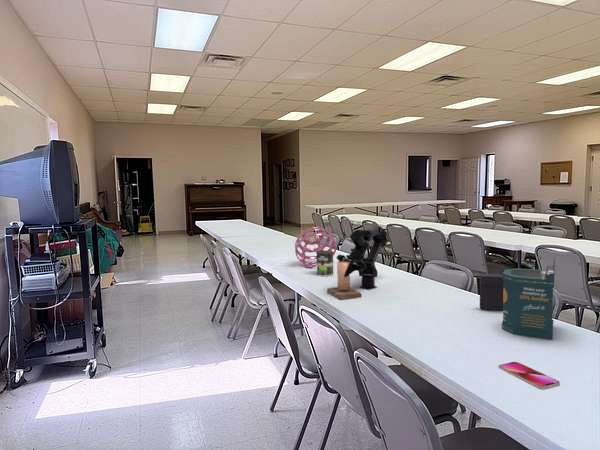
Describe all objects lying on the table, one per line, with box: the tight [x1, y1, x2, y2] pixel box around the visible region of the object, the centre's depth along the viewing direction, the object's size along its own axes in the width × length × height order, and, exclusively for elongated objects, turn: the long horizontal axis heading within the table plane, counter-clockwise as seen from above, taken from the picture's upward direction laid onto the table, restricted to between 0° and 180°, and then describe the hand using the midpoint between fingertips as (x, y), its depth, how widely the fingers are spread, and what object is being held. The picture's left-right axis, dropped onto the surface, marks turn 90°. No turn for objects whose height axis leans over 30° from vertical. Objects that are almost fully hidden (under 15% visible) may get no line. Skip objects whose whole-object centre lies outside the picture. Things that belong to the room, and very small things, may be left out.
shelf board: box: [326, 286, 362, 301], centre depth 206 cm, size 16×11×2 cm
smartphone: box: [498, 361, 561, 390], centre depth 117 cm, size 7×1×15 cm
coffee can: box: [315, 250, 334, 277], centre depth 253 cm, size 10×10×14 cm
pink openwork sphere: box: [294, 226, 338, 269], centre depth 277 cm, size 28×28×27 cm
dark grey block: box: [479, 273, 504, 313], centre depth 174 cm, size 11×4×15 cm, turn 71°
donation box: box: [501, 252, 556, 341], centre depth 150 cm, size 16×16×28 cm
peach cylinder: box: [336, 261, 351, 290], centre depth 205 cm, size 6×6×13 cm
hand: (341, 275), depth 205 cm, fingers closed on peach cylinder, 6 cm apart
